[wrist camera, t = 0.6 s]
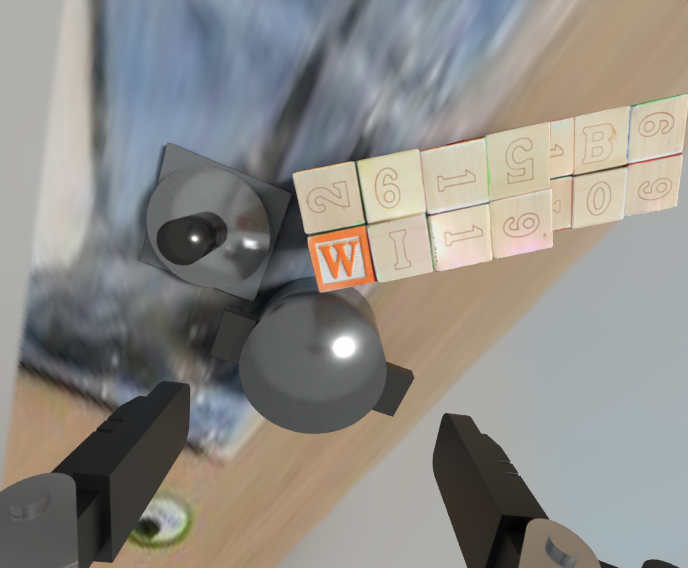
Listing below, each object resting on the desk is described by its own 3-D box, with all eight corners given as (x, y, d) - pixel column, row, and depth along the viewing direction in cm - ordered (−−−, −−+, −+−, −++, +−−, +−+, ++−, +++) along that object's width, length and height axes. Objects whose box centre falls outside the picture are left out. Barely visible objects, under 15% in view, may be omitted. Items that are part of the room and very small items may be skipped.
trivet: (172, 143, 26) (167, 142, 25) (292, 193, 27) (291, 194, 27) (145, 258, 29) (140, 260, 28) (255, 298, 30) (253, 301, 30)
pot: (258, 248, 29) (234, 271, 22) (416, 310, 31) (438, 347, 24) (222, 352, 32) (192, 399, 25) (369, 402, 34) (376, 457, 27)
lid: (169, 146, 25) (118, 137, 20) (288, 195, 27) (274, 201, 21) (143, 259, 28) (91, 281, 22) (252, 299, 29) (230, 330, 24)
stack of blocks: (574, 119, 26) (765, 75, 15) (572, 199, 28) (738, 217, 16) (309, 172, 27) (288, 171, 15) (325, 246, 29) (317, 295, 17)
